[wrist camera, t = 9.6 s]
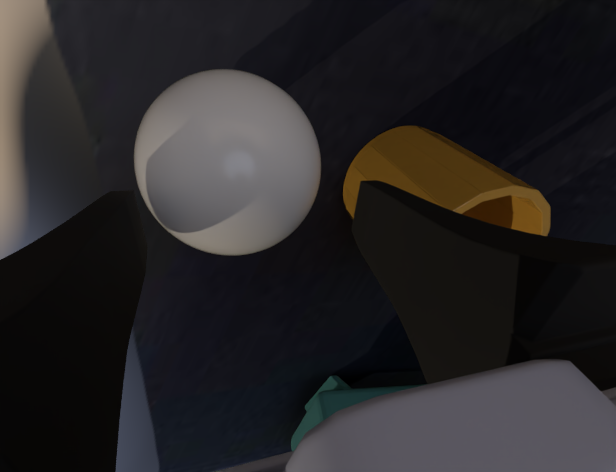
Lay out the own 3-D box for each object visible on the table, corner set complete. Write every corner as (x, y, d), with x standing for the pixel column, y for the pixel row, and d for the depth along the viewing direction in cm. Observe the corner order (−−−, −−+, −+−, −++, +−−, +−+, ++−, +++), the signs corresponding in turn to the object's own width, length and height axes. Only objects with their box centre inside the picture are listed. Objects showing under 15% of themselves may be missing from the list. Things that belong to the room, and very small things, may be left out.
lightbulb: (170, 15, 15) (137, 48, 7) (294, 71, 18) (384, 145, 9) (147, 143, 18) (102, 280, 10) (257, 174, 21) (298, 302, 12)
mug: (341, 137, 21) (415, 209, 14) (456, 115, 22) (576, 170, 15) (344, 264, 27) (395, 356, 20) (432, 241, 29) (509, 321, 22)
